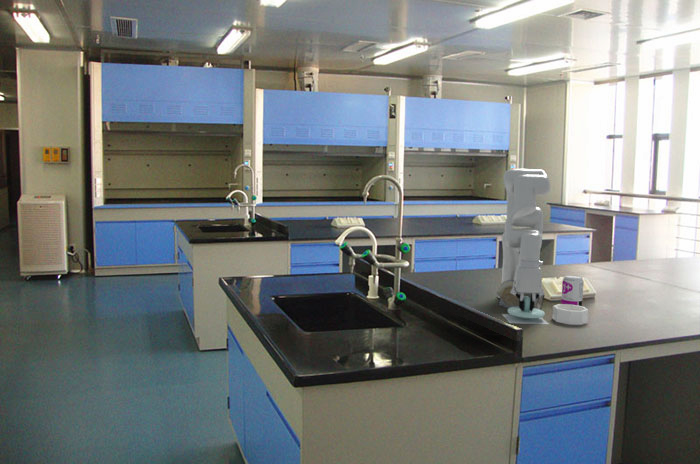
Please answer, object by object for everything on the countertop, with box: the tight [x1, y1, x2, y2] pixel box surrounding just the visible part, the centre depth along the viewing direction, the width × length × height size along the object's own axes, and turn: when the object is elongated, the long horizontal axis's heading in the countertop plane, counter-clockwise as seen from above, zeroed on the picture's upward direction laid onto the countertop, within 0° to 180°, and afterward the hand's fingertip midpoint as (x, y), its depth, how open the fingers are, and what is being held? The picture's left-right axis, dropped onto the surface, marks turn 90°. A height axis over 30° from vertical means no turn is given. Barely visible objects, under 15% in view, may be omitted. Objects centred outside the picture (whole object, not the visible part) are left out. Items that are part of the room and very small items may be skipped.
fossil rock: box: [496, 280, 545, 310], centre depth 245 cm, size 20×9×15 cm, turn 32°
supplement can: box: [560, 274, 585, 306], centre depth 242 cm, size 8×8×15 cm
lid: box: [507, 297, 546, 318], centre depth 228 cm, size 14×14×6 cm
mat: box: [501, 313, 550, 325], centre depth 228 cm, size 14×15×1 cm
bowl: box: [551, 303, 589, 326], centre depth 227 cm, size 12×12×6 cm
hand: (526, 309), depth 228 cm, fingers closed on lid, 2 cm apart
